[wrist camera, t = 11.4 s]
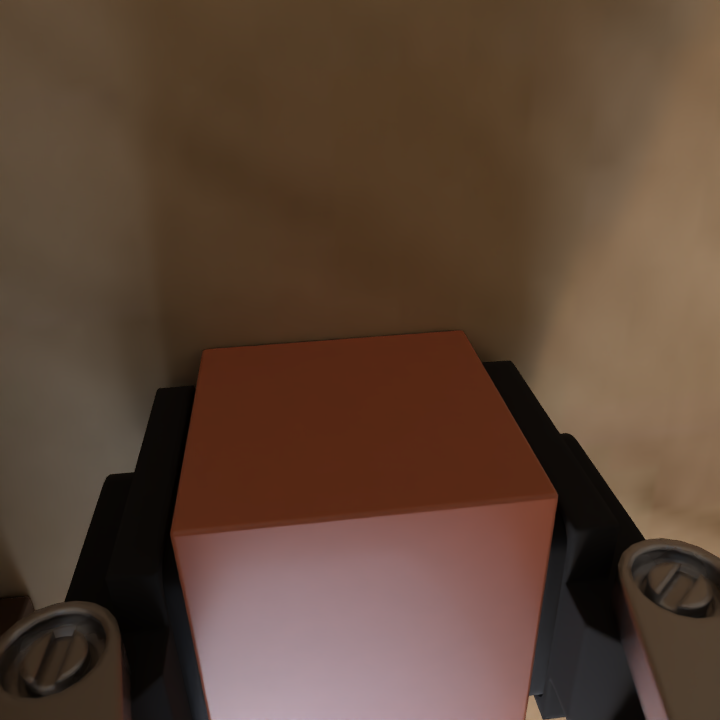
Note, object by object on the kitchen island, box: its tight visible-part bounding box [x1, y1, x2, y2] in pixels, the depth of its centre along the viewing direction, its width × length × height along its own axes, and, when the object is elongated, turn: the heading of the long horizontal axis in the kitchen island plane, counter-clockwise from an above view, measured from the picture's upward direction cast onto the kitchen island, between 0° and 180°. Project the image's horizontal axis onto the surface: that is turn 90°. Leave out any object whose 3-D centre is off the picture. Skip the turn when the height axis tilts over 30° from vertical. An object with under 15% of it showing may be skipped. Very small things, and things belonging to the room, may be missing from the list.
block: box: [170, 330, 558, 720], centre depth 10 cm, size 4×4×4 cm
